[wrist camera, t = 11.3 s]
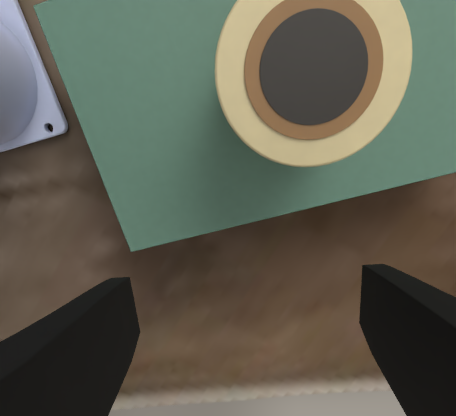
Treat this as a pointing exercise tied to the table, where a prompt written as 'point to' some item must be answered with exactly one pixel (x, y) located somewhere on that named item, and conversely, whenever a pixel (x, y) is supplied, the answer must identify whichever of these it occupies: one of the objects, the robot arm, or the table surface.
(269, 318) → the table surface
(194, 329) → the table surface
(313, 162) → the tape roll
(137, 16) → the desk shelf
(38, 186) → the table surface
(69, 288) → the table surface
